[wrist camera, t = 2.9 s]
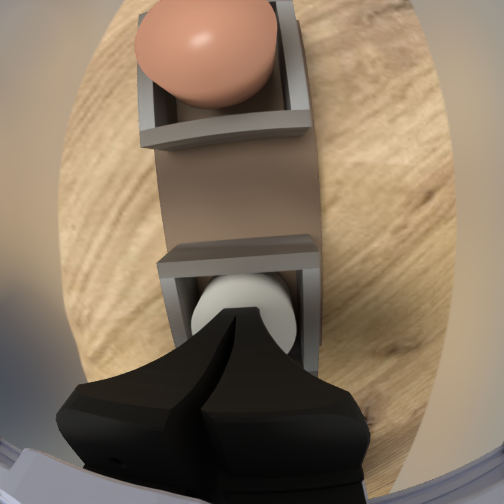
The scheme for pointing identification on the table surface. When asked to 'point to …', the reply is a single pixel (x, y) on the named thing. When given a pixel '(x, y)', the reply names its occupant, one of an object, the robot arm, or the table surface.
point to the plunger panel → (241, 190)
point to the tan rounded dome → (208, 49)
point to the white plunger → (250, 303)
